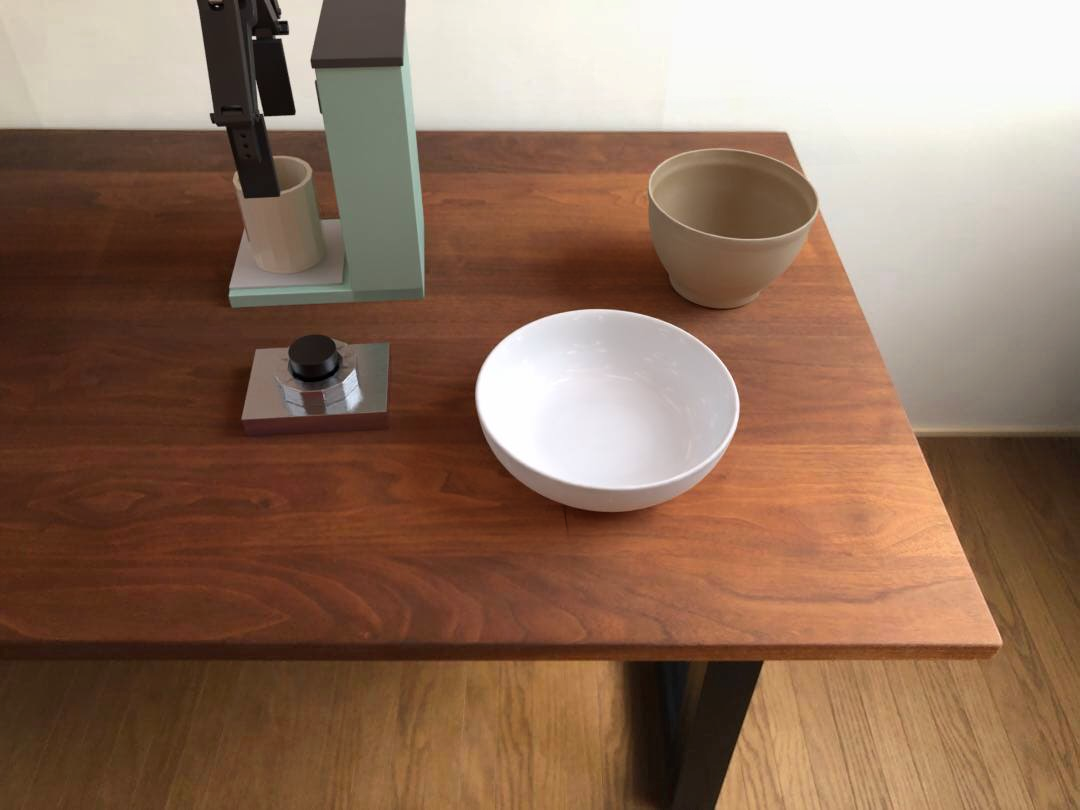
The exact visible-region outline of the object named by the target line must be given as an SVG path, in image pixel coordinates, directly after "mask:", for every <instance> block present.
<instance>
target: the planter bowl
mask: <svg viewBox="0 0 1080 810" xmlns="http://www.w3.org/2000/svg"><path fill="white" fill-rule="evenodd" d="M647 198H648V207H647V209H648V212H647V214H648V227H649V232H650V233H649V234H650V237H651V241H652V244H653V248H654V249H655V253H656V255H657V257H658V258H659V261H660V262H661V264H662V266H663V268H664V269H665V270H666V272H667V274H668V279H669V281H670V282H669V283H670V284H671V286H672V287H673V289H674V290H675V292H677V294H679V295H680V296H681V297H682V298H683V299H685V300H687V301H689V302H691V303H693V304H696V305H699V306H702V307H706V308H710V309H735V308H740V307H742V306H746V305H748V304H750V303H751V302H753V301H755V299H757V298H758V297H759V295H760V294H761V292H762V290H763V289H765V288H767V287H768V286H770V285H772V284H773V283H774V282H776V280H777V279H779V278H780V277H781V276H782V275H783V274H784V273H785V272H786V270H788V268H789V267H790V266H791V265H792V263H793V262H794V261H795V260H796V258H797V256H798V255H799V253H800V252H801V250H802V248H803V246H804V244H805V243H806V240H807V238H808V235H809V233H810V230H811V227H812V226H813V224H814V223H815V221H816V219H817V215H818V213H819V208H820V199H819V195H818V191H817V189H816V188H815V186H814V185H813V183H811V181H809V179H808V178H807V177H806V176H805V175H803V173H801V172H800V171H799V170H797V169H796V168H794V167H793V166H791V165H789V164H787V163H786V162H783V161H781V160H778V159H776V158H774V157H771V156H768V155H766V154H761V153H758V152H754V151H750V150H749V151H748V150H743V149H736V148H724V147H721V148H720V147H716V148H712V147H711V148H701V149H694V150H690V151H686V152H685V151H684V152H681V153H678V154H675V155H673V156H670V157H669V158H667V159H665V160H664V161H662V162H661V163H659V164H658V165H657V166H656V167H655V168H654V169H653V170H652V172H651V174H650V176H649V179H648V182H647Z"/></svg>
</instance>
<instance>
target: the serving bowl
mask: <svg viewBox="0 0 1080 810" xmlns="http://www.w3.org/2000/svg"><path fill="white" fill-rule="evenodd" d="M474 389H475V391H474V395H475V396H474V399H475V408H476V412H477V416H478V420H479V423H480V426H481V430H482V432H483V436H484V437H485V439H486V442H487V444H488V445H489V447H490V449H491V451H492V452H493V454H494V455H495V457H496V459H497V460H498V461H499V462H500V464H501V465H502V466H503V467H504V468H505V469H506V470H507V471H508V472H509V473H510V475H512V476H513V477H514V478H515V479H516V480H518V481H519V482H520V483H522V484H523V485H524V486H526V487H527V488H529V489H530V490H531V491H534V492H536V493H537V494H539V495H541V496H543V497H544V498H547V499H548V500H551V501H554V502H557V503H560V504H562V505H565V506H569V507H571V508H574V509H575V508H576V509H581V510H585V511H592V512H602V513H603V512H604V513H605V512H606V513H608V512H609V513H617V512H618V513H620V512H621V513H622V512H632V511H636V510H642V509H646V508H650V507H654V506H658V505H660V504H663V503H666V502H669V501H670V500H673V499H675V498H677V497H679V496H680V495H681V496H682V494H684V493H686V492H688V491H690V490H691V489H692V488H694V487H695V486H696V485H697V484H699V483H701V481H702V480H703V479H704V478H705V477H707V475H709V474H710V473H711V472H712V470H714V468H715V467H716V466H717V465H718V463H719V461H720V460H721V459H722V458H723V456H724V454H725V452H727V449H728V447H729V445H730V443H731V442H732V439H733V437H734V435H735V432H736V430H737V427H738V424H739V418H740V397H739V392H738V389H737V386H736V383H735V381H734V379H733V377H732V374H731V373H730V371H729V369H728V368H727V366H726V365H725V364H724V362H723V361H722V360H721V359H720V357H718V355H717V354H716V353H715V352H714V351H713V350H712V349H710V348H709V346H707V345H706V344H704V343H703V342H702V341H701V340H700V339H698V338H697V337H695V336H693V335H692V334H691V333H689V332H687V331H685V330H684V329H682V328H681V327H678V326H676V325H674V324H672V323H669V322H667V321H664V320H663V319H659V318H655V317H652V316H650V315H645V314H641V313H637V312H632V311H626V310H619V309H606V308H605V309H604V308H603V309H602V308H591V309H590V308H589V309H588V308H587V309H578V310H570V311H569V310H568V311H565V312H560V313H555V314H552V315H551V314H550V315H547V316H545V317H541V318H539V319H537V320H534V321H532V322H529V323H527V324H524V325H523V326H521V327H519V328H517V329H516V330H514V331H513V332H511V333H510V334H508V335H507V336H505V338H503V339H501V341H500V342H499V343H498V344H497V345H495V346H494V348H493V349H492V350H491V351H490V353H489V354H488V355H487V357H486V358H485V360H484V361H483V363H482V365H481V368H480V370H479V371H478V375H477V379H476V383H475V388H474Z"/></svg>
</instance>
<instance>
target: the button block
mask: <svg viewBox="0 0 1080 810" xmlns="http://www.w3.org/2000/svg"><path fill="white" fill-rule="evenodd" d="M330 338H331V337H330ZM331 339H332V340H333V341H334V342H335V344H336V348H337V354H338V359H339V369H338V371H337V372H336V373H335V374H334V375H333V376H332V377H330V378H327V379H325V380H323V381H320V382H304V381H301V380H299V379H297V378H296V377H295V376H294V374H293V372H292V368H291V363H290V359H289V355H288V350H289V347H290V346H291V345H289V346H288V347H269V348H256V349H255V352H254V356H253V361H252V367H251V371H250V376H249V380H248V385H247V389H246V390H247V391H246V395H245V399H244V405H243V410H242V414H241V418H240V419H241V423H242V426H243V429H244V432H245V435H246V438H256V437H257V438H258V437H274V436H275V437H276V436H277V437H278V436H293V435H309V434H311V435H313V434H325V433H327V434H328V433H330V434H331V433H345V432H364V431H380V430H381V431H382V430H389V429H390V416H391V415H390V413H391V388H392V365H393V364H392V363H393V360H392V353H391V344H390V342H371V343H352V344H351V343H350V344H348V343H346V342H344V341H341V340H337V339H335V338H331Z"/></svg>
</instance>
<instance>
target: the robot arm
mask: <svg viewBox="0 0 1080 810" xmlns="http://www.w3.org/2000/svg"><path fill="white" fill-rule="evenodd" d="M196 5H197V10H198V16H199V22H200V29H201V35H202V42H203V48H204V55H205V62H206V68H207V75H208V82H209V89H210V90H209V91H210V95H211V103H212V109H213V112H209V118H210V122H211V124H212V125H216V127H218V128H225V130H226V133H227V138H228V142H229V146H230V149H231V153H232V157H233V160H234V164H235V168H236V171H237V173H238V176H239V180H240V184H241V188H242V192H243V196H244V199H249V198H268V197H280V193H281V191H280V187H279V182H278V178H277V173H276V169H275V164H274V160H273V156H274V155H273V151H272V147H271V142H270V137H269V134H268V130H267V129H268V128H267V125H266V120H265V117H266V118H267V117H268V118H269V117H288V116H292V117H293V116H296V112H297V110H296V105H295V104H296V103H295V100H294V95H293V90H292V86H291V85H292V84H291V80H290V73H289V69H288V64H287V59H286V54H285V49H284V44H283V39H282V37H281V38H277V37H278V36H290V26H289V25H290V24H289V21H288V20H281V18H282V14H283V13H282V8H281V7H280V4H279V0H196ZM276 36H277V37H276ZM253 37H255V38H253ZM258 96H259V100H260V105H261V110H262V113H261V112H260V109H259V102H258V101H259V100H258Z"/></svg>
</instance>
